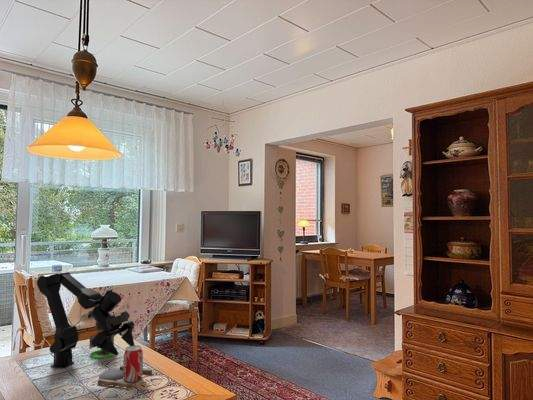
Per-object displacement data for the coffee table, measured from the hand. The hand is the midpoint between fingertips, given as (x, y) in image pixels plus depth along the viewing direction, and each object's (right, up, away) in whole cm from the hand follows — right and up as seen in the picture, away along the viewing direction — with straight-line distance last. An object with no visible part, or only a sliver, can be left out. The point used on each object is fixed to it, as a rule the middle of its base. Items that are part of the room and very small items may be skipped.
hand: (125, 350), depth 147 cm
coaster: (-6, -10, +2) cm, 12 cm away
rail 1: (-1, -10, -7) cm, 13 cm away
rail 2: (+2, -11, +5) cm, 12 cm away
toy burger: (-19, -12, +25) cm, 33 cm away
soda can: (+3, -11, -2) cm, 11 cm away
